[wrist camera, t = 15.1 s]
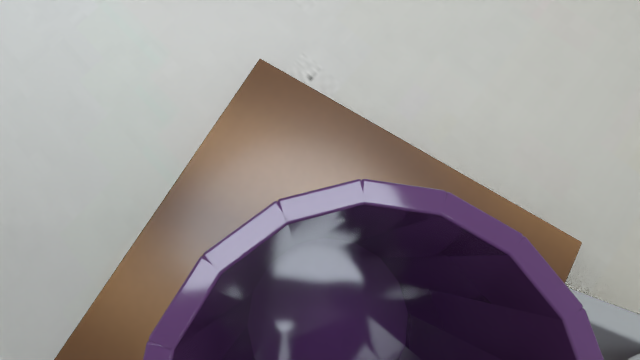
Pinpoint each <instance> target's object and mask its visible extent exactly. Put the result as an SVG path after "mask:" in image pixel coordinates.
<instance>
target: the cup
mask: <svg viewBox="0 0 640 360" xmlns="http://www.w3.org/2000/svg"><path fill="white" fill-rule="evenodd" d="M143 360H604V358H603V356H602V353H601V350H600V348H599V345H598V342H597V339H596V337H595V334H594V331H593V329H592V326H591V323H590V321H589V318H588V315H587V312H586V310H585V309H584V308H583V305H582V304H581V303H580V301H579V300H578V299H577V298H576V297H575V295H574V294H573V293H572V292H571V291H570V289H569V288H568V287H567V286H566V285H565V283H564V282H563V281H562V280H561V279H560V277H559V276H558V275H557V274H556V273H555V271H554V270H553V269H552V268H551V267H550V265H549V264H548V263H547V262H546V261H545V259H544V258H543V257H542V256H541V255H540V253H539V252H538V251H537V250H536V249H535V247H534V246H533V245H532V244H531V243H530V241H529V240H528V239H527V238H526V237H525V236H523V235H522V233H520V232H518V231H517V230H515V229H513V228H511V227H510V226H508V225H506V224H504V223H503V222H501V221H499V220H497V219H496V218H494V217H492V216H490V215H489V214H487V213H485V212H483V211H482V210H480V209H478V208H476V207H475V206H473V205H471V204H469V203H468V202H466V201H464V200H462V199H461V198H459V197H457V196H455V195H454V194H452V193H450V192H446V191H444V190H440V189H433V188H426V187H419V186H412V185H405V184H398V183H391V182H384V181H377V180H370V179H362V180H361V179H356V180H352V181H348V182H344V183H340V184H336V185H332V186H328V187H324V188H320V189H316V190H312V191H308V192H304V193H300V194H296V195H292V196H289V197H285V198H281V199H279V200H278V202H277V201H274V202H272V203H271V204H270V205H268V206H267V207H266V208H264V209H263V210H262V211H260V212H259V213H257V214H256V215H255V216H253V217H252V218H251V219H249V220H248V221H246V222H245V223H244V224H242V225H241V226H240V227H238V228H237V229H236V230H234V231H233V232H231V233H230V234H229V235H227V236H226V237H225V238H223V239H222V240H220V241H219V242H218V243H216V244H215V245H214V246H212V247H211V248H210V249H208V250H207V251H205V252H204V254H203V256H201V257H200V258H199V259H198V261H197V262H196V264H195V265H194V267H193V269H192V270H191V272H190V273H189V275H188V276H187V278H186V279H185V281H184V283H183V284H182V286H181V287H180V289H179V290H178V292H177V294H176V295H175V297H174V298H173V300H172V301H171V303H170V305H169V306H168V308H167V309H166V311H165V312H164V314H163V315H162V317H161V319H160V320H159V322H158V323H157V325H156V326H155V328H154V330H153V331H152V333H151V334H150V336H149V340H148V342H147V343H146V348H145V352H144V357H143Z"/></svg>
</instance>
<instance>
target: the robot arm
mask: <svg viewBox="0 0 640 360" xmlns="http://www.w3.org/2000/svg"><path fill="white" fill-rule="evenodd" d="M569 289H570V288H569ZM570 291H571V292H572V293H573V294H574V295H575V297H576V298H577V299H578V300H579V301H580V303H581V304H582V305H583V308H584V309H585V310H586V312H587V315H588V318H589V321H590V323H591V326H592V329H593V331H594V334H595V337H596V339H597V342H598V345H599V348H600V350H601V353H602V356H603V358H604V360H640V314H637V313H635V312H632V311H629V310H627V309H624V308H621V307H619V306H616V305H613V304H611V303H608V302H605V301H603V300H600V299H597V298H594V297H592V296H589V295H586V294H584V293H581V292H578V291H576V290H573V289H570Z"/></svg>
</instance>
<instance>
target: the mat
mask: <svg viewBox="0 0 640 360" xmlns="http://www.w3.org/2000/svg"><path fill="white" fill-rule="evenodd" d="M356 179H361V180H362V179H370V180H377V181H384V182H391V183H398V184H405V185H412V186H419V187H426V188H433V189H440V190H444V191H446V192H450V193H452V194H454V195H455V196H457V197H459V198H461V199H462V200H464V201H466V202H468V203H469V204H471V205H473V206H475V207H476V208H478V209H480V210H482V211H483V212H485V213H487V214H489V215H490V216H492V217H494V218H496V219H497V220H499V221H501V222H503V223H504V224H506V225H508V226H510V227H511V228H513V229H515V230H517V231H518V232H520V233H522V235H523V236H525V237H526V238H527V239H528V240H529V241H530V243H531V244H532V245H533V246H534V247H535V249H536V250H537V251H538V252H539V253H540V255H541V256H542V257H543V258H544V259H545V261H546V262H547V263H548V264H549V265H550V267H551V268H552V269H553V270H554V271H555V273H556V274H557V275H558V276H559V277H560V279H561V280H562V281H563V282H564V283H565V282H566V279H567V277H568V275H569V272H570V270H571V268H572V265H573V263H574V260H575V258H576V256H577V253H578V251H579V249H580V246H581V244H582V242H580V241H578V240H577V239H575V238H573V237H571V236H570V235H568V234H566V233H564V232H563V231H561V230H559V229H557V228H556V227H554V226H552V225H550V224H549V223H547V222H545V221H543V220H542V219H540V218H538V217H536V216H535V215H533V214H531V213H529V212H528V211H526V210H524V209H522V208H521V207H519V206H517V205H515V204H514V203H512V202H510V201H508V200H507V199H505V198H503V197H501V196H500V195H498V194H496V193H494V192H493V191H491V190H489V189H487V188H486V187H484V186H482V185H480V184H479V183H477V182H475V181H473V180H472V179H470V178H468V177H466V176H465V175H463V174H461V173H459V172H458V171H456V170H454V169H452V168H451V167H449V166H447V165H445V164H444V163H442V162H440V161H438V160H437V159H435V158H433V157H431V156H430V155H428V154H426V153H424V152H423V151H421V150H419V149H417V148H416V147H414V146H412V145H410V144H409V143H407V142H405V141H403V140H402V139H400V138H398V137H396V136H395V135H393V134H391V133H389V132H388V131H386V130H384V129H382V128H381V127H379V126H377V125H375V124H374V123H372V122H370V121H368V120H367V119H365V118H363V117H361V116H360V115H358V114H356V113H354V112H353V111H351V110H349V109H347V108H346V107H344V106H342V105H340V104H339V103H337V102H335V101H333V100H332V99H330V98H328V97H326V96H325V95H323V94H321V93H319V92H318V91H316V90H314V89H312V88H311V87H309V86H307V85H305V84H304V83H302V82H300V81H298V80H297V79H295V78H293V77H291V76H290V75H288V74H286V73H284V72H283V71H281V70H279V69H277V68H276V67H274V66H272V65H270V64H269V63H267V62H265V61H263V60H262V59H259V61H258V62H257V64H256V65H255V67H254V68H253V70H252V71H251V72H250V74H249V75H248V77H247V78H246V80H245V81H244V83H243V84H242V86H241V87H240V89H239V90H238V91H237V93H236V94H235V96H234V97H233V99H232V100H231V102H230V103H229V105H228V106H227V108H226V109H225V111H224V112H223V113H222V115H221V116H220V118H219V119H218V121H217V122H216V124H215V125H214V127H213V128H212V130H211V131H210V132H209V134H208V135H207V137H206V138H205V140H204V141H203V143H202V144H201V146H200V147H199V149H198V150H197V151H196V153H195V154H194V156H193V157H192V159H191V160H190V162H189V163H188V165H187V166H186V168H185V169H184V171H183V172H182V173H181V175H180V176H179V178H178V179H177V181H176V182H175V184H174V185H173V187H172V188H171V190H170V191H169V192H168V194H167V195H166V197H165V198H164V200H163V201H162V203H161V204H160V206H159V207H158V209H157V210H156V211H155V213H154V214H153V216H152V217H151V219H150V220H149V222H148V223H147V225H146V226H145V228H144V229H143V231H142V232H141V233H140V235H139V236H138V238H137V239H136V241H135V242H134V244H133V245H132V247H131V248H130V250H129V251H128V252H127V254H126V255H125V257H124V258H123V260H122V261H121V263H120V264H119V266H118V267H117V269H116V270H115V271H114V273H113V274H112V276H111V277H110V279H109V280H108V282H107V283H106V285H105V286H104V288H103V289H102V291H101V292H100V293H99V295H98V296H97V298H96V299H95V301H94V302H93V304H92V305H91V307H90V308H89V310H88V311H87V312H86V314H85V315H84V317H83V318H82V320H81V321H80V323H79V324H78V326H77V327H76V329H75V330H74V331H73V333H72V334H71V336H70V337H69V339H68V340H67V342H66V343H65V345H64V346H63V348H62V349H61V351H60V352H59V353H58V355H57V356H56V358H55V359H54V360H143V357H144V352H145V348H146V343H147V342H148V340H149V336H150V334H151V333H152V331H153V330H154V328H155V326H156V325H157V323H158V322H159V320H160V319H161V317H162V315H163V314H164V312H165V311H166V309H167V308H168V306H169V305H170V303H171V301H172V300H173V298H174V297H175V295H176V294H177V292H178V290H179V289H180V287H181V286H182V284H183V283H184V281H185V279H186V278H187V276H188V275H189V273H190V272H191V270H192V269H193V267H194V265H195V264H196V262H197V261H198V259H199V258H200V257H201V256H203V254H204V252H205V251H207V250H208V249H210V248H211V247H212V246H214V245H215V244H216V243H218V242H219V241H220V240H222V239H223V238H225V237H226V236H227V235H229V234H230V233H231V232H233V231H234V230H236V229H237V228H238V227H240V226H241V225H242V224H244V223H245V222H246V221H248V220H249V219H251V218H252V217H253V216H255V215H256V214H257V213H259V212H260V211H262V210H263V209H264V208H266V207H267V206H268V205H270V204H271V203H272V202H274V201H277V202H278V200H279V199H281V198H285V197H289V196H292V195H296V194H300V193H304V192H308V191H312V190H316V189H320V188H324V187H328V186H332V185H336V184H340V183H344V182H348V181H352V180H356Z"/></svg>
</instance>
